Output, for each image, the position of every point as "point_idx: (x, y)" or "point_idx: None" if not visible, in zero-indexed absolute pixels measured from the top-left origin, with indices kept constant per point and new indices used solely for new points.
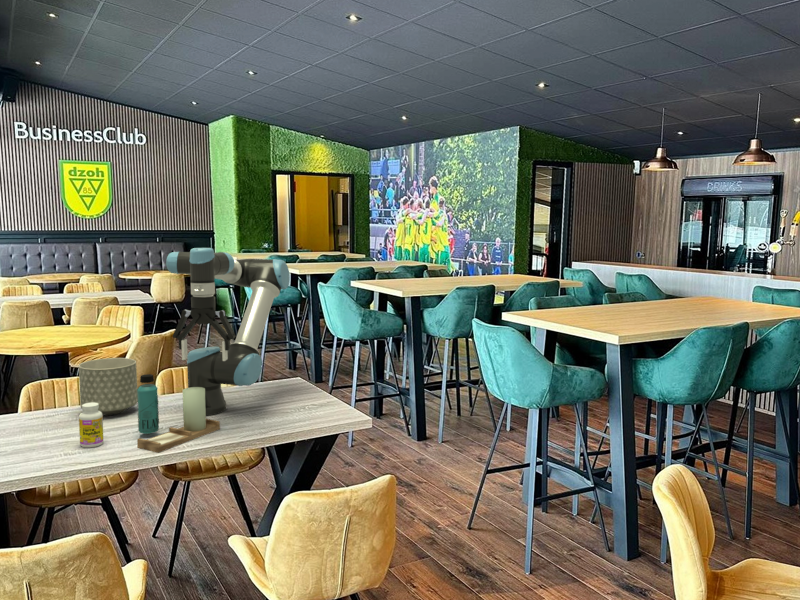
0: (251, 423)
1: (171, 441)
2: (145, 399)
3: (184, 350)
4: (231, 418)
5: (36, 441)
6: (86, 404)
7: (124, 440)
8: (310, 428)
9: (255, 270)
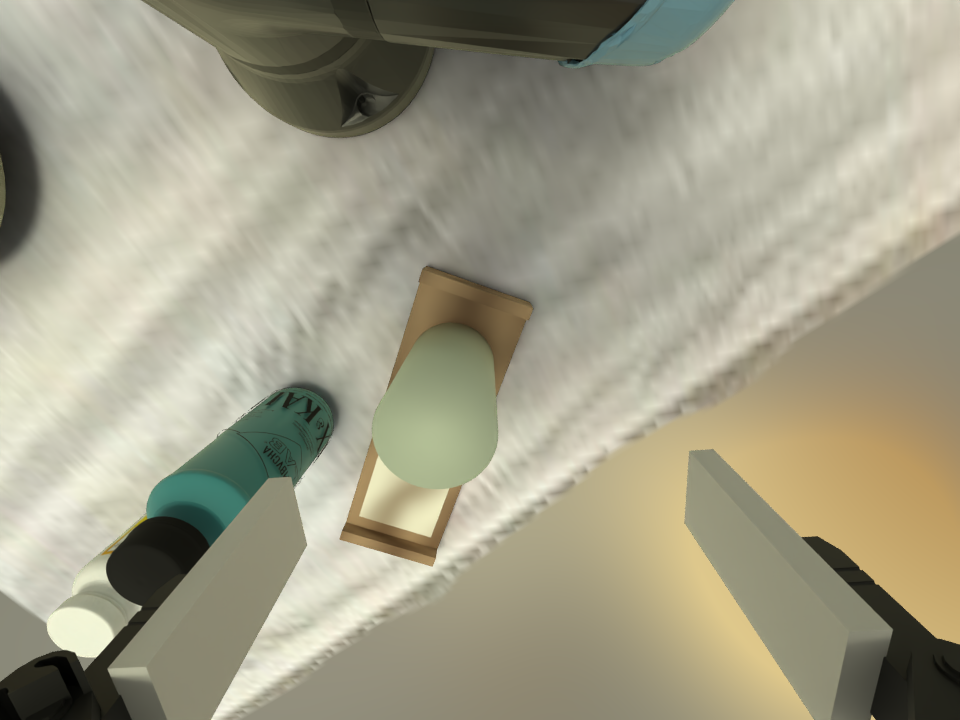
0: (636, 201)
1: (443, 503)
2: None
3: (261, 610)
4: (520, 142)
5: (5, 520)
6: (65, 635)
7: None
8: (910, 223)
9: None
